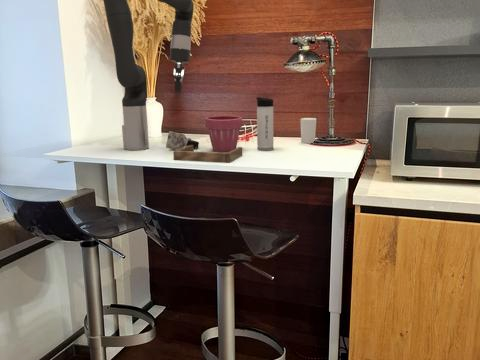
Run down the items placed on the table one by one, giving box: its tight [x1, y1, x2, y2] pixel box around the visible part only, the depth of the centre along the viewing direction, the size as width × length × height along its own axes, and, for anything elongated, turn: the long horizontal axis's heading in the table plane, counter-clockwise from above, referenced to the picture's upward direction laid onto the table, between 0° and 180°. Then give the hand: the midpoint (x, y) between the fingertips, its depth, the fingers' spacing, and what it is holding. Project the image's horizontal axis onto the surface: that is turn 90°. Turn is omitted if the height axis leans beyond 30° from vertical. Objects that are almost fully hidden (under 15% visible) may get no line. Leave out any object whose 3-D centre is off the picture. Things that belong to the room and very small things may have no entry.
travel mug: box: [255, 96, 274, 152], centre depth 174 cm, size 6×7×20 cm
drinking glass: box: [300, 117, 317, 145], centre depth 189 cm, size 7×7×10 cm
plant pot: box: [204, 115, 243, 153], centre depth 175 cm, size 14×14×13 cm
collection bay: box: [172, 145, 243, 164], centre depth 162 cm, size 21×14×3 cm, turn 71°
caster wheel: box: [165, 130, 200, 151], centre depth 181 cm, size 7×11×10 cm
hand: (177, 92), depth 173 cm, fingers open, 8 cm apart
